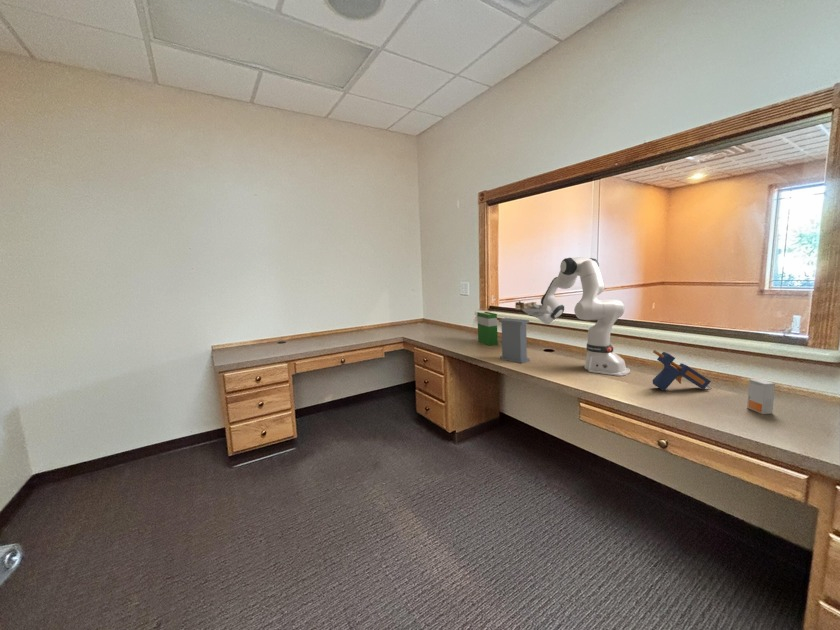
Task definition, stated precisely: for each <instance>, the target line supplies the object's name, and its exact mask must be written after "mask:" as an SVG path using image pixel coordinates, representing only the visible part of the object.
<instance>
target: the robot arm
mask: <svg viewBox="0 0 840 630" xmlns="http://www.w3.org/2000/svg"><path fill="white" fill-rule="evenodd" d="M578 277H579V278H580V284H581V289H582V296H581V298H580V300H579V301H578V302H577V303H576V304H575V306H574V315H575V316H576V318H578V319H579V320H582V321H584V320H585V321H596V320H597V322H595V324H594V325H593V326H591V327H589V329H587V343H586V359H585V362H584V363H585V364H584V366H583V368H584V369H585V370H587V371H588V372H589V373H595V374H602V375H610V376H616V377H617V376H618V377H620V376H621V377H623V376H626V375H629V374H630V372H631V370H630V368H628V367H626V362H625V359H624V358H623V357H621V356H620V355H619V354H617V353H616V352H615V351H614V349H615V345H613V346H612V344H611V331H612V327H613V326H614V324H615V323H616V321H618V320H619V319H620V318H621V317H623V314H624V313H625V305H624V303H623V302H622V301H621V300H619V299H613V298H607V299H598V296H600V295H601V294H602V293H603V292H604V290H605V288H606V287H605V283H604V279H603V275H602V272H601V270H600V264H599V261H598V259H596V258H592V257H565V258H563V259H562V261H561V262H560V267H559V272H558V275H557V276H556V277H554V278H553V279H552V280H551V282H550V284H549V286H547V289H546V291H545V293H543V296H542V297H541V298H540V304H537V303H536V304H535V303H532V306H533V307H529V308H524V309H521V310H522V311H523V312H524V313H525V314H527V315H528V316H529V317H534V318H535V319H538V320H539V321H541V322H542V323H543V324H545V325H548V324H550V323H551V322H552V321H553V320H555V319H556V320H557V319H558V318H559V317H561V316H562V315H563V314H564V312H565V305H563V303H562V302H561V301H559V300H558V299H557V297H556V296H555V293H556V292H557V290H558V288H559V289H561V290H567V289H570V288H572V287H573V286H574V285H575V283H576V280H577V278H578Z"/></svg>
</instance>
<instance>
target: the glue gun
mask: <svg viewBox="0 0 840 630" xmlns="http://www.w3.org/2000/svg"><path fill="white" fill-rule="evenodd" d="M652 351H653V352H652V353H653V354H655V355H656V356H658V357H657V359H656V360H657V361H658V362H660V363H661V364H662V365H663V368H662V370H661V371H660V372H659V373H658V374H657V375H656V376H655V377H654V378H653V379H652V385H654V386H655V387H657V389H658V388H659V389H660V390H662V391H664V392H665V391H666V390H667V389H668V387H670V385H671V384H672V383H673V382H674V381H675V380H676V381H677V383H679V384H682V378H685V379H686V380H688V382H689V383H690V382H691V383H692V384H694V385H695V386H696V387H698V388H701V389H702V390H706V388H708V389H710V390H712V387H711V386H709V385H710V383H711V382H712V381H711V380H710V379H709V378H707V377H706V376H704V375H702V374H701V373H699V372H698V371H696V370H695V369H693V368H691V367H690V366H688V364H687V365H686V364H685V363H681V362H680V364H678V363H676V362H674V361H675V359H676V357H675V356H673V355H671V354H670V353H667V352H666V351H663V352H662V353H661V352H659V351H657V350H656V349H655V350H652Z"/></svg>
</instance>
